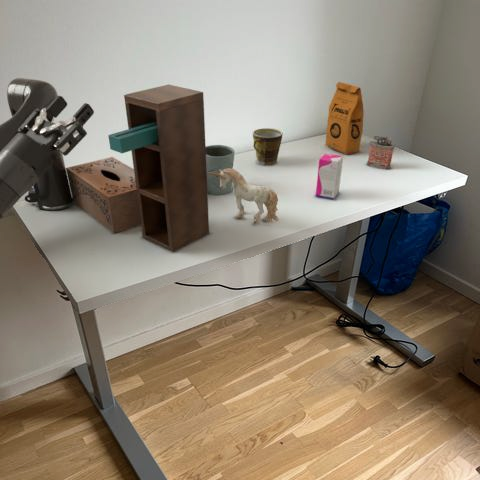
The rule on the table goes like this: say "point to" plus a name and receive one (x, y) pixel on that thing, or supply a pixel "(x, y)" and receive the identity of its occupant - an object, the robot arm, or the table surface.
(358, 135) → the coffee package
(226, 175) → the unicorn figurine
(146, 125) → the pencil case
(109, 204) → the tissue box cover
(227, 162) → the grey flower pot
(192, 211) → the shelf
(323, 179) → the supplement box
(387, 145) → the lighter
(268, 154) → the ceramic cup
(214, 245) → the table surface
